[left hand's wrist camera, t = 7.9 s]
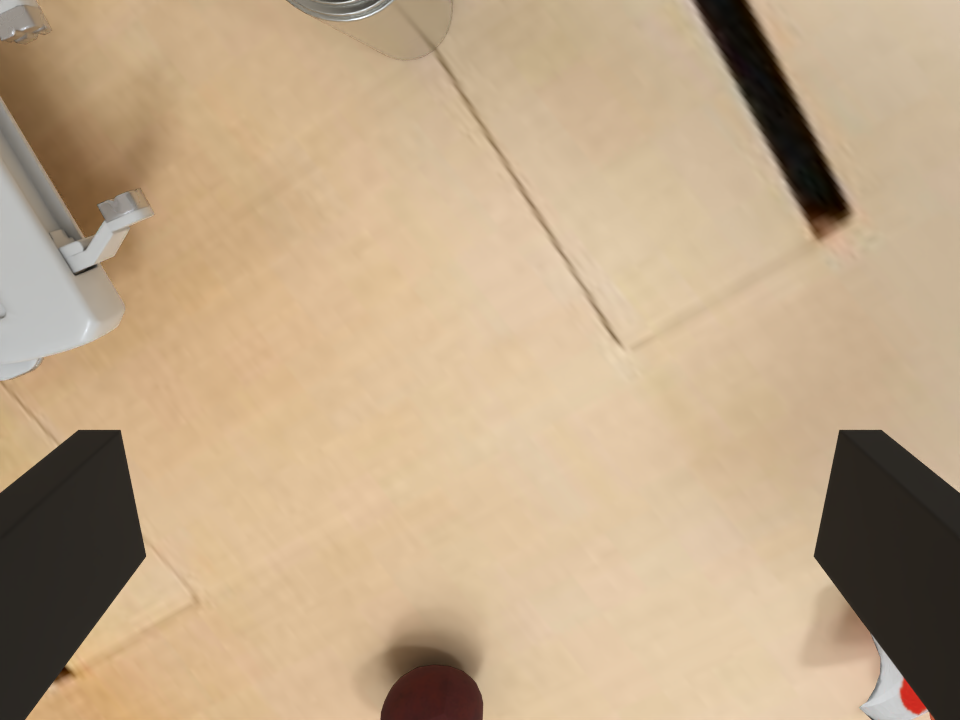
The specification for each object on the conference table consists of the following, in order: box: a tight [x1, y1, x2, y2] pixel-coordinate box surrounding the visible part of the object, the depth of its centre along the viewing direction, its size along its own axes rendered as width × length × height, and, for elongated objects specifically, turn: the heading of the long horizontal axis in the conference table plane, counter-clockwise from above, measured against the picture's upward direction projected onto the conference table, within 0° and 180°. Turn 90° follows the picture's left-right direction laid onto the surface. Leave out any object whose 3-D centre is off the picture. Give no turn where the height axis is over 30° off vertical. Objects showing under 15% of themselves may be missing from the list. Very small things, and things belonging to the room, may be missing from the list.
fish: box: [859, 633, 935, 720], centre depth 49 cm, size 11×16×10 cm
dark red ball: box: [381, 665, 483, 720], centre depth 50 cm, size 7×8×7 cm
